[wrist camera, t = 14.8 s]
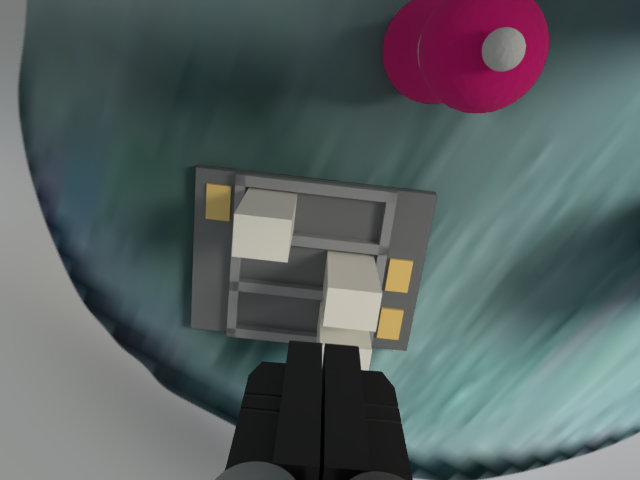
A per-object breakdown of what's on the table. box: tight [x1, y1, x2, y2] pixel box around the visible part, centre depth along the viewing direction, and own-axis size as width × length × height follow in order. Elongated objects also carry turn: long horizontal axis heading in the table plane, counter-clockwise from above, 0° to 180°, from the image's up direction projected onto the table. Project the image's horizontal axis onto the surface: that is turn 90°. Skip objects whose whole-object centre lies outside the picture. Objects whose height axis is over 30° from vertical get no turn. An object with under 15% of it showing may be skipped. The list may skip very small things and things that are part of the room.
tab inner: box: [232, 187, 298, 263], centre depth 40 cm, size 4×3×8 cm
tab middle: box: [323, 250, 382, 332], centre depth 42 cm, size 4×3×8 cm
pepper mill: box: [382, 0, 549, 113], centre depth 30 cm, size 7×7×20 cm
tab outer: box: [316, 300, 372, 371], centre depth 43 cm, size 4×3×8 cm
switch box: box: [191, 165, 437, 351], centre depth 45 cm, size 20×15×2 cm
